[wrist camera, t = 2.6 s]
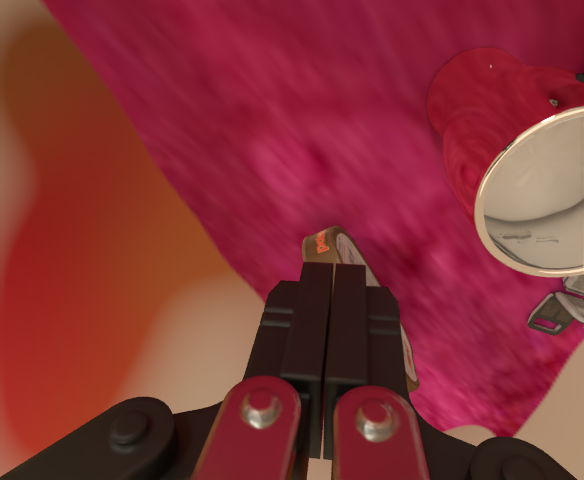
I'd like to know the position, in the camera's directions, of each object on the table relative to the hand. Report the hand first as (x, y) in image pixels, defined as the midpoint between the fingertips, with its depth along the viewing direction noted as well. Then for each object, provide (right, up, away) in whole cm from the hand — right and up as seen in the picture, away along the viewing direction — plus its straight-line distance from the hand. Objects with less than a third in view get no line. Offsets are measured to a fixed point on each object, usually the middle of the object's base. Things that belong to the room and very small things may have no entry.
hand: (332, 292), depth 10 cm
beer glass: (+11, +11, +17) cm, 23 cm away
